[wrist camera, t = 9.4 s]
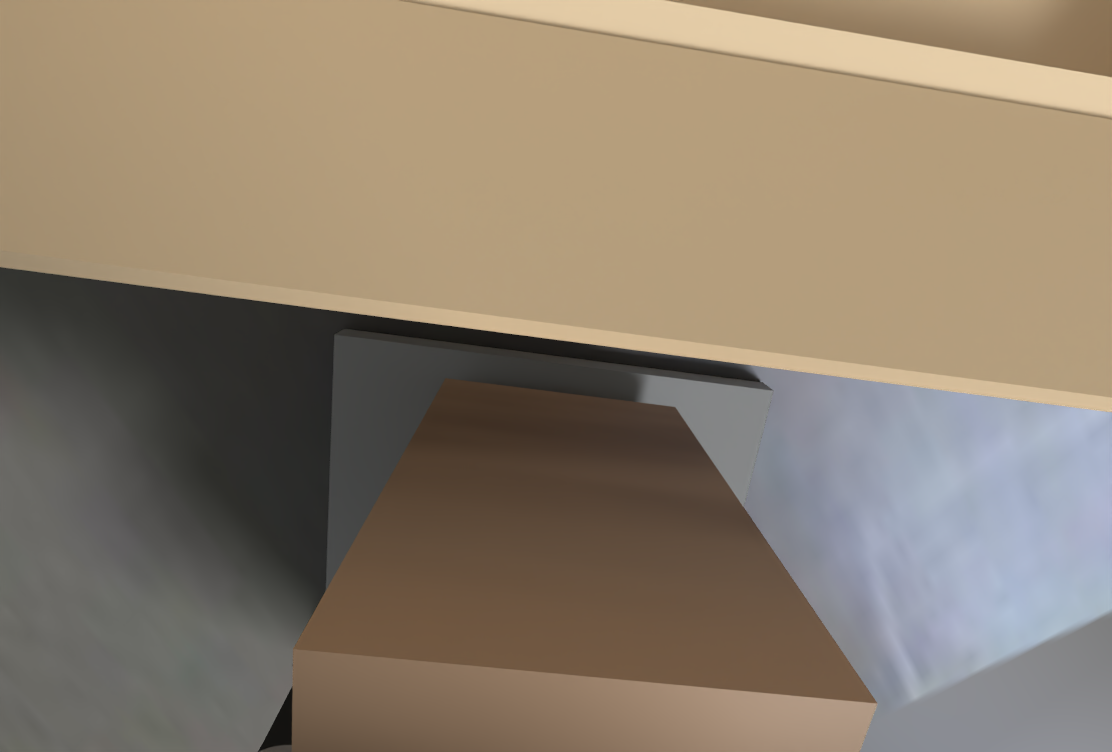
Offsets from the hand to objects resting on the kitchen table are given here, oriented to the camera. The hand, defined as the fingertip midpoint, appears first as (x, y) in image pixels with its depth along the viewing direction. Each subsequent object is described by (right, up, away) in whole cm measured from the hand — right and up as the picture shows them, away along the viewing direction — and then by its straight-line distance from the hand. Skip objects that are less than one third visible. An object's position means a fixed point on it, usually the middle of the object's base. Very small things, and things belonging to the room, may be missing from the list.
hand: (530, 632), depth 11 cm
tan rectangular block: (0, 0, +1) cm, 1 cm away
